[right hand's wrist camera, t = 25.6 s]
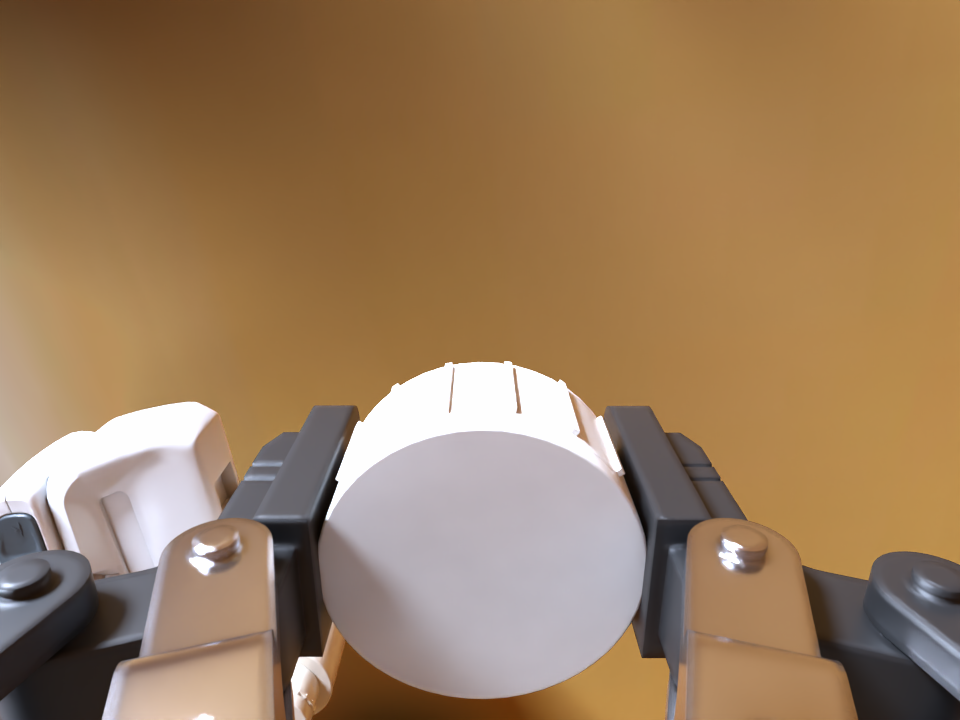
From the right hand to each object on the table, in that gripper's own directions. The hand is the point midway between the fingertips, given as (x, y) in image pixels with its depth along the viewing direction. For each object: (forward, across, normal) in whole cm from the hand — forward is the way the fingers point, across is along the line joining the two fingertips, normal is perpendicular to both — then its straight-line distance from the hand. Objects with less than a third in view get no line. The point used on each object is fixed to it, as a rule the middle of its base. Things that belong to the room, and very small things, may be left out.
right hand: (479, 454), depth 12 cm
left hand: (+19, +7, +18) cm, 27 cm away
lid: (-3, 0, 0) cm, 3 cm away
